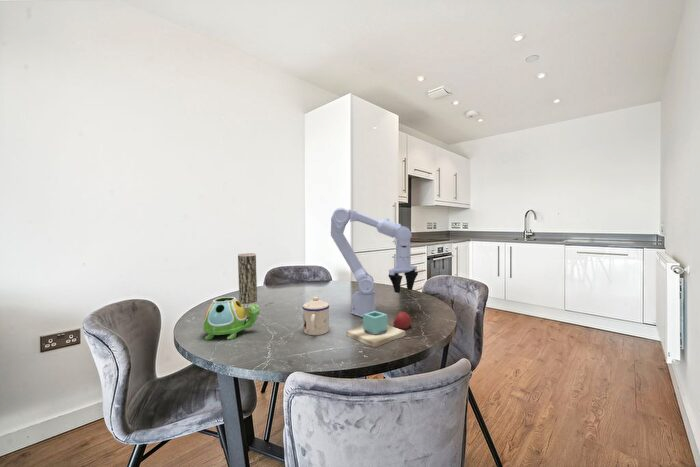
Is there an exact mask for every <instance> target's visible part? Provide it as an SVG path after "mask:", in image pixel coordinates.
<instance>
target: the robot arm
mask: <svg viewBox="0 0 700 467" xmlns="http://www.w3.org/2000/svg"><path fill="white" fill-rule="evenodd" d="M330 220H331V222H330V237H331V238H332V239H333V241H334V243H335V245H336V247H337V248H338V250H339V252H340V253H341V256H343V258H344V260H345V262H346V264H347V265H348V266H349V269H350V270H351V273H352V274H353V276H354V278H355V280H356V282H357V289H358V290H355V291H354V292H353V294H352V295H351V311H350V314H352V315H355V316H357V317H360V318H363V314H366V313H369V312H373V311H376V290H375V280H374V278H373V275H371V274H369V273H368V272H367V271H366V269H365V268H364V267H363V266H364V265H362V263H361V261H360V260H359V258H358V256H357V254H356V253H355V251H354V249H353V248H352V246H351V244H350V242H349V240H348V239H347V237H346V236H345V234H344V233H345V229H346V225H347V224H348V223H349V222H351V223H352V222H358V223H359V222H360V223H363V224H365V225H368V226H370V227H374V228H376V230H377V232H378V233H380V234H382V235H385V236H387V237H390V238H395V240H396V244H395V267H394V268H390V269H388V278H389V279H390V282H391V284H392V287H393V292H394V293H397V294H400V292H401V285H402V284H401V282H402V279H403V275H400V274H404V276H405V280H406V288H407V290H409V291H412V290H413V287H414V284H415V280H416V278H417V276H418V274H419V271H418V266H416V265H411V251H412V250H411V238H412V236H413V235H412V232H411V229H410V228H409V227H407V226H404V225H402V224H401V223H396V222H393V221H391V220H390V218H382V219H380V220H378V219H376V218H374V217H371V216H369V215H367V214H364V213H362V212H359V211H356V210H352V209H346V208H344V207H338V208H336V209H335V210H334V211H333V213H332V215H331V219H330Z"/></svg>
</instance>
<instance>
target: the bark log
mask: <svg viewBox="0 0 700 467" xmlns="http://www.w3.org/2000/svg"><path fill="white" fill-rule="evenodd" d="M237 264H238V265H237V267H238V268H237V269H238V301H239V302H240V303H241V304H242V306H243V307H244V310H245V313H246V317H247V318H246V319H249V316H250V315H249V313H248V309H249V307H250V306H251V305H255V304H258V286H257V285H258V284H257V281H258V280H257V279H258V278H257V253H253V252H252V253H238V254H237Z"/></svg>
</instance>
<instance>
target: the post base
mask: <svg viewBox="0 0 700 467" xmlns="http://www.w3.org/2000/svg"><path fill="white" fill-rule="evenodd" d="M346 336H347V337H349V338H351V339H353V340H356V341H358V342H360V343H362V344H365V345H367V346H370V347H372V348H377V347H380V346H383V345H384V344H385V345H386V344H388V343H390V342H393V341H394V340H398V339H401V338H403V337H405V336H406V330H405V329H398V328H396V327H395V326H392V325H389V324H388V330H386V331H383V332H380V333H377V334H373V333H371V332H368V331H366V330H363V325H361V326H357V327H354V328H351V329H347V330H346Z"/></svg>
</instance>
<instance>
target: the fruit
mask: <svg viewBox="0 0 700 467" xmlns="http://www.w3.org/2000/svg"><path fill="white" fill-rule="evenodd" d="M416 315H417V316H418V313H416ZM411 318H413V316H411V317H410V315H409V314H408V313H407V312H405V311H398V312H397V314H396V315H395V317H394V319H393V322H392V324H393V327H395V328H398V329H401V330H407V329H409V327H410V326H411V323H412V321H411Z"/></svg>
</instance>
